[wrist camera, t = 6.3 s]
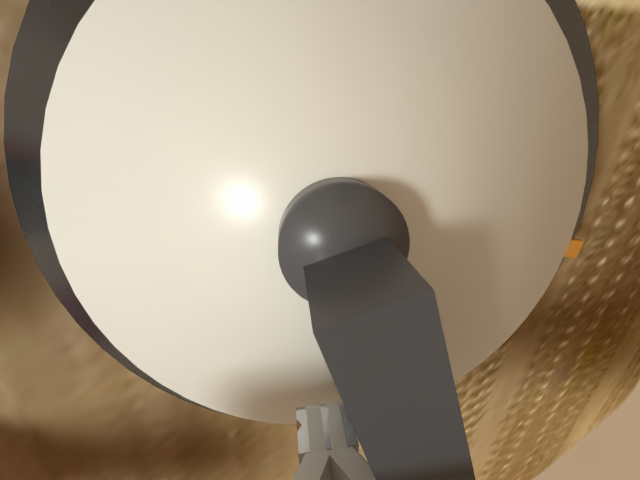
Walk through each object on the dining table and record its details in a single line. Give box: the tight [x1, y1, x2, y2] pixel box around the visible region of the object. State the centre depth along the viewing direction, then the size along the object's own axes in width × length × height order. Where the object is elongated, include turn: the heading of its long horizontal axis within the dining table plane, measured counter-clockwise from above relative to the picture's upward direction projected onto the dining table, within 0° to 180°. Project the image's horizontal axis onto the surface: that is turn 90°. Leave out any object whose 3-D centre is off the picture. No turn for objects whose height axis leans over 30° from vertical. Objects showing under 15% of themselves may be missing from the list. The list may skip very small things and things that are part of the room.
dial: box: [40, 0, 588, 480], centre depth 8 cm, size 16×16×6 cm
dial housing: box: [4, 0, 599, 416], centre depth 12 cm, size 20×20×3 cm
